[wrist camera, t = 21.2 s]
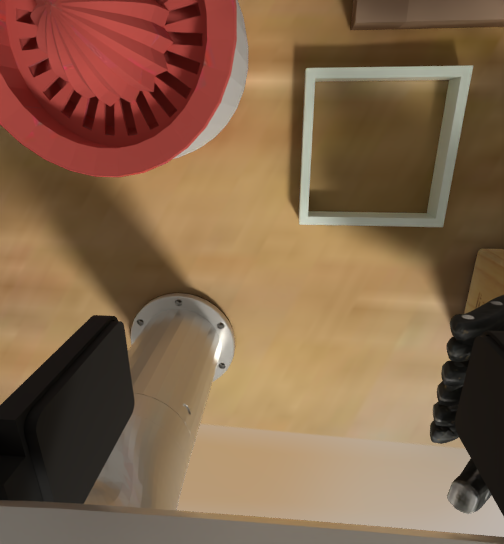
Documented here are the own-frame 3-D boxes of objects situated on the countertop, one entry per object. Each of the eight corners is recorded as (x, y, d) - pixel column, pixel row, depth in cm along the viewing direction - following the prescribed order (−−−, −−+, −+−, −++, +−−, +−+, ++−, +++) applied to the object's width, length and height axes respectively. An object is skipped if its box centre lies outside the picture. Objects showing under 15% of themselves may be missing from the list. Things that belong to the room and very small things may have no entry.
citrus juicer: (224, -89, 31) (128, -422, 12) (278, 130, 36) (269, 135, 18) (58, -19, 33) (-229, -201, 15) (132, 174, 39) (-8, 218, 20)
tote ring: (433, 221, 38) (443, 227, 36) (298, 218, 39) (299, 224, 37) (460, 69, 33) (473, 65, 31) (305, 72, 34) (306, 68, 32)
